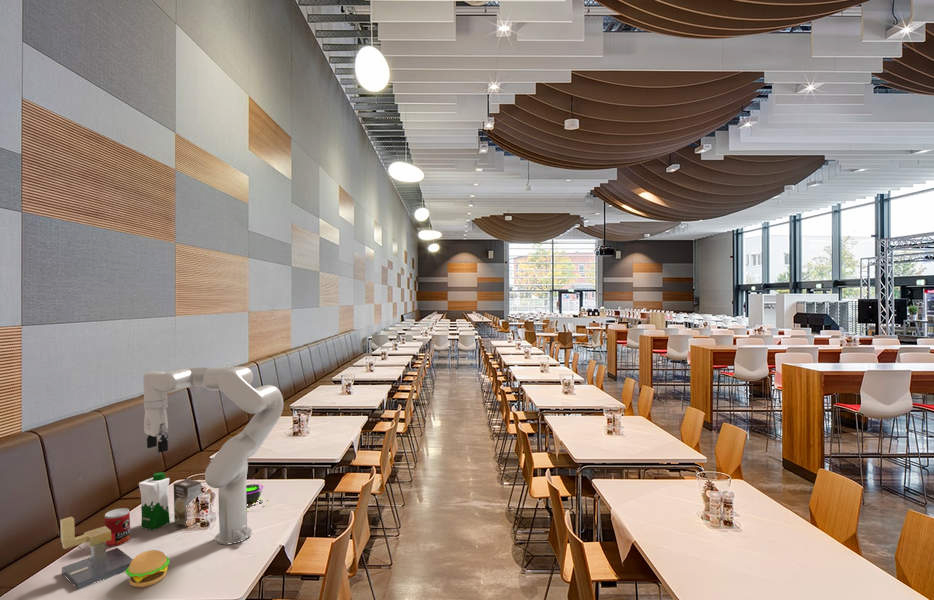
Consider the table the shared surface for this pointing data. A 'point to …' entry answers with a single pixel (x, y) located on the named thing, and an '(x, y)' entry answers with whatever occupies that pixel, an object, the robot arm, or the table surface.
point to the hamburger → (147, 568)
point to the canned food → (118, 526)
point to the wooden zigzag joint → (88, 537)
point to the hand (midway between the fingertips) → (157, 449)
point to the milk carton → (155, 501)
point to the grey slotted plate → (97, 566)
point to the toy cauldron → (253, 494)
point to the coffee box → (184, 498)
